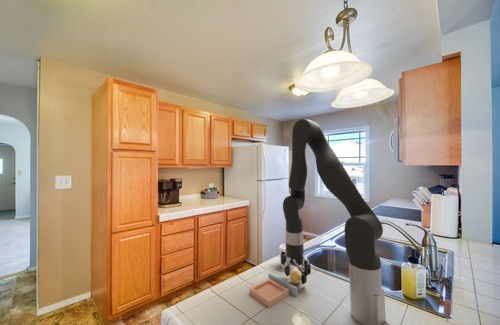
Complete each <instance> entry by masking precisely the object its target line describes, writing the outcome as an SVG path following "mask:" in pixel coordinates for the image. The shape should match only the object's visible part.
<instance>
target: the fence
mask: <svg viewBox="0 0 500 325" xmlns="http://www.w3.org/2000/svg"><path fill="white" fill-rule="evenodd" d="M267 277H268V278H267V279H271V280H273V281H275V282H276V283H278V284H280V285H282V286H284V287H285V288H287V289H289V295H292V296H293V297H298V295H299V294H298V292H299V290H298V287H297V286H295V285H293V284H291V283H290V282H288V281H285V280H284V279H282V278H280V277H277V276H276V275H274V274H272V273H271V272H270V273H268V275H267Z"/></svg>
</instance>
